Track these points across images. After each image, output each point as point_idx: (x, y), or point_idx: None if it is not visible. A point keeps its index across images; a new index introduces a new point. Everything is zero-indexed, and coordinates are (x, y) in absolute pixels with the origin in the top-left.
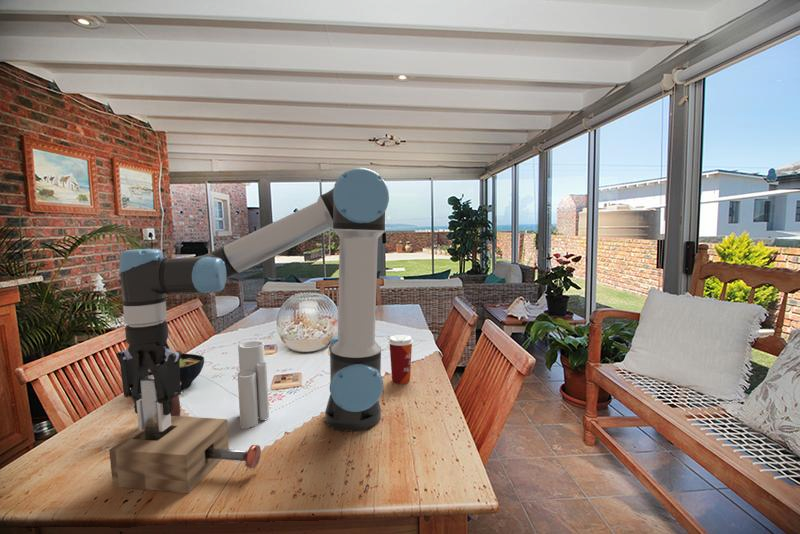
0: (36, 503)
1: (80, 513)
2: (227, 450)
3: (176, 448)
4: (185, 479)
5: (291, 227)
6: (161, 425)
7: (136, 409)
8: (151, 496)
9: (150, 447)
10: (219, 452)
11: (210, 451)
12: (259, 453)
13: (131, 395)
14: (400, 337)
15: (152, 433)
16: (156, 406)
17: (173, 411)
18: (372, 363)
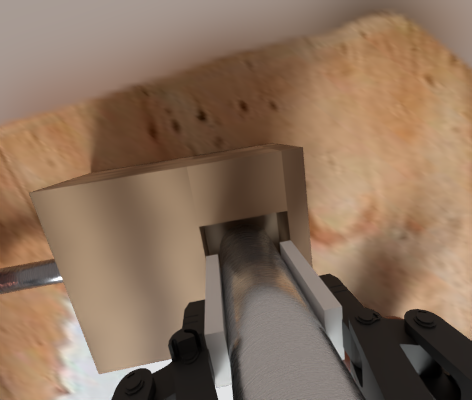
0: (377, 58)
1: (258, 59)
2: (31, 279)
3: (97, 211)
4: (80, 177)
5: None
6: (207, 267)
7: (333, 284)
8: (161, 142)
9: (186, 192)
10: (50, 268)
11: None
12: None
13: (397, 328)
14: None
15: (235, 242)
16: (230, 315)
17: (348, 363)
18: None
